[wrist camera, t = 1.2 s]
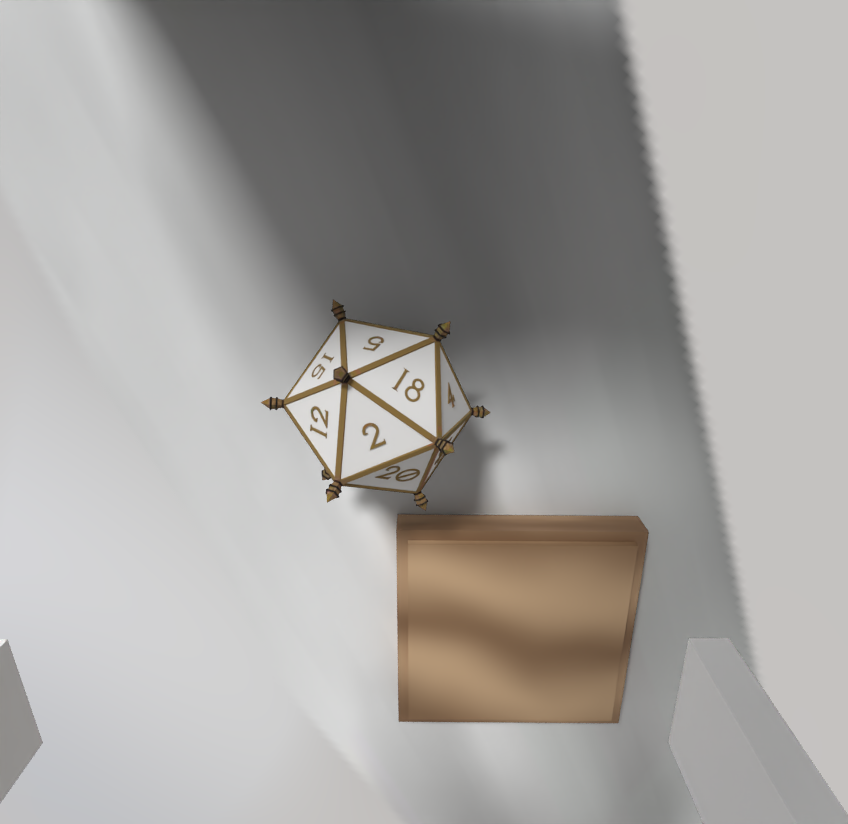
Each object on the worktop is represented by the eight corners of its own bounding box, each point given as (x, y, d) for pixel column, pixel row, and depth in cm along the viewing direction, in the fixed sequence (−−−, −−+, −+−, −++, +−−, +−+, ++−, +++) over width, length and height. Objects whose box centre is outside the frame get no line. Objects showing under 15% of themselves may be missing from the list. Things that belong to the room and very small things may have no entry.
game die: (425, 351, 32) (565, 412, 25) (337, 480, 31) (455, 580, 24) (310, 247, 26) (452, 285, 18) (199, 403, 25) (300, 507, 18)
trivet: (397, 514, 31) (396, 534, 29) (637, 516, 31) (651, 536, 29) (399, 699, 35) (398, 727, 34) (610, 701, 35) (620, 728, 34)
